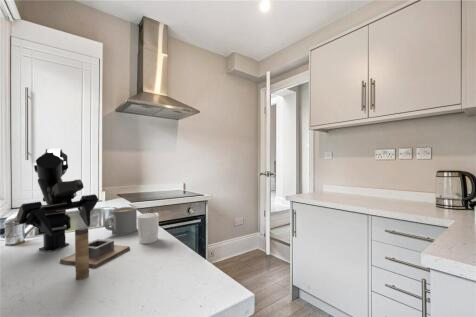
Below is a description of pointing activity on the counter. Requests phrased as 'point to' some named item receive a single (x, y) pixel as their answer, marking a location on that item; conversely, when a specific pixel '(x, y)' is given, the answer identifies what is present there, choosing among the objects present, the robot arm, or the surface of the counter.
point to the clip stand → (99, 253)
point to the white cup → (148, 227)
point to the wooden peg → (81, 253)
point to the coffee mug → (122, 221)
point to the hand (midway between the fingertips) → (71, 230)
